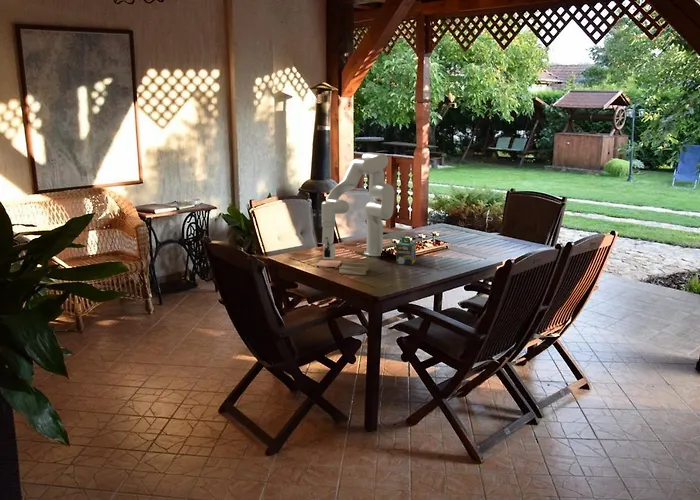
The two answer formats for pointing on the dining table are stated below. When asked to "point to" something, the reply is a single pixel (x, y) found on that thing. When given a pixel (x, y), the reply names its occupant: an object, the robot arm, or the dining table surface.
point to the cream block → (332, 252)
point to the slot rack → (353, 268)
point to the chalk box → (406, 252)
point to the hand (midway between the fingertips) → (328, 255)
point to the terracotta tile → (328, 263)
